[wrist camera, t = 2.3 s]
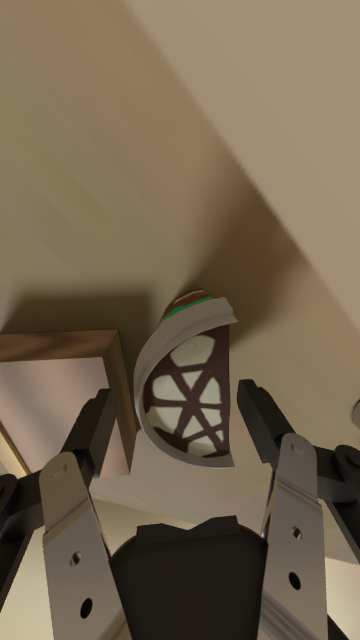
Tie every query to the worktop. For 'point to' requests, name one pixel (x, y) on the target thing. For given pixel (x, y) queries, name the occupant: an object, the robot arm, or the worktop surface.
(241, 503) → the worktop surface
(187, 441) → the food container
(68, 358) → the dock
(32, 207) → the worktop surface
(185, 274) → the worktop surface
